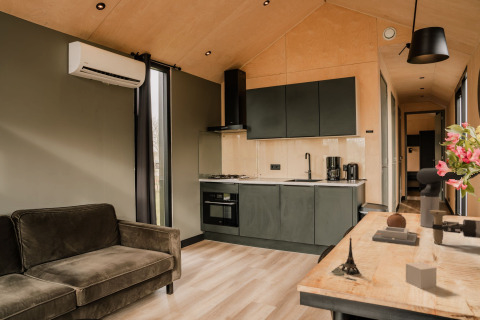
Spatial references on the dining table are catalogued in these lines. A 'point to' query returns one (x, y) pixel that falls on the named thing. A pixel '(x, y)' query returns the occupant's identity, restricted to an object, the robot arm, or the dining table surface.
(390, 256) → the dining table surface
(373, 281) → the dining table surface
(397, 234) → the square socket base
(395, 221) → the onion
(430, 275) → the beige cube
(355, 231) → the dining table surface
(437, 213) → the handle
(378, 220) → the dining table surface
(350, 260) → the eiffel tower figurine
